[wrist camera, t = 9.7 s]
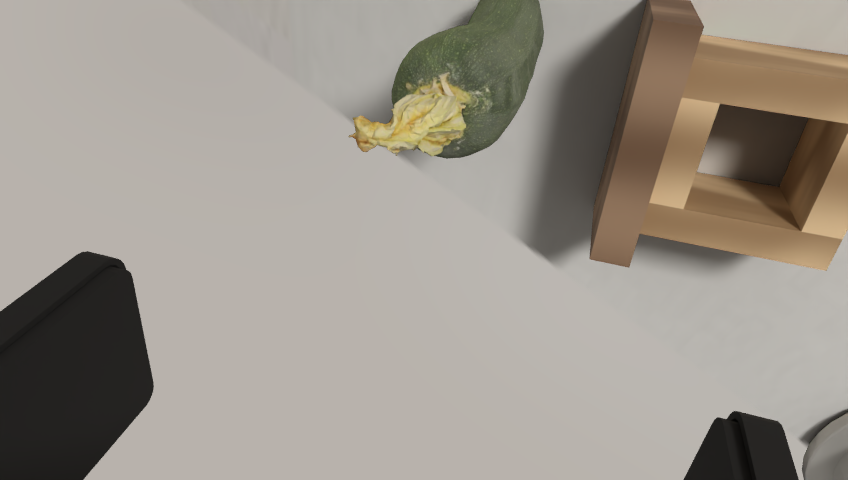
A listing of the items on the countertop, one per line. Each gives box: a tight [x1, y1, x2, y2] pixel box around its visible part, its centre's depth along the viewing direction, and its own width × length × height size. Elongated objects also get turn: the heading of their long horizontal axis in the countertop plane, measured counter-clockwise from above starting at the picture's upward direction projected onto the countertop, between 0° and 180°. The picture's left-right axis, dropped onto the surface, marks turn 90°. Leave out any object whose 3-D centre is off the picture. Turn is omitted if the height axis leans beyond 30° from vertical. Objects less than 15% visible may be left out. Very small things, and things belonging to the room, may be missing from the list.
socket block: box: [640, 35, 848, 271], centre depth 31 cm, size 9×9×5 cm
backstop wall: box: [590, 0, 704, 267], centre depth 31 cm, size 12×2×6 cm, turn 175°
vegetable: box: [349, 0, 544, 158], centre depth 25 cm, size 4×4×20 cm
